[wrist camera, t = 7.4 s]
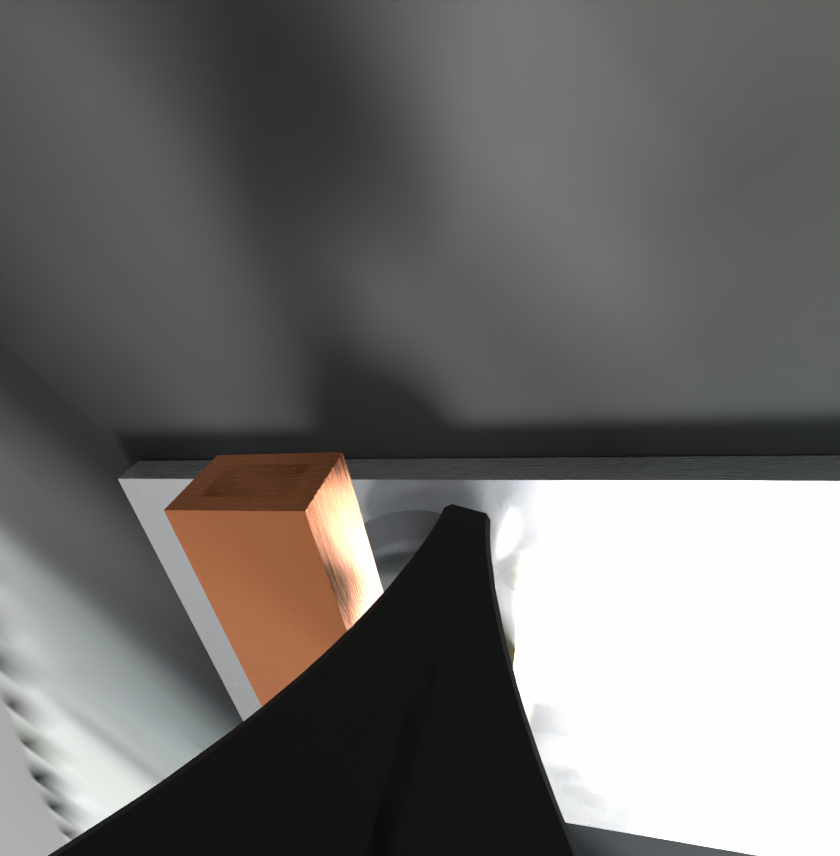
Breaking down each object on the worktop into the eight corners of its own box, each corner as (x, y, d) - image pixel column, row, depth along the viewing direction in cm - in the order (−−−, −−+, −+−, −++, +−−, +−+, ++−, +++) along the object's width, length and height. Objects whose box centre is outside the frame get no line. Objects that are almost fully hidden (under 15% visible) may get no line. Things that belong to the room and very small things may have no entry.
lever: (475, 888, 15) (466, 956, 14) (383, 869, 16) (368, 932, 14) (355, 451, 8) (319, 512, 7) (206, 455, 9) (151, 509, 8)
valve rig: (836, 837, 20) (921, 1082, 15) (279, 749, 26) (210, 901, 21) (984, 454, 12) (1262, 705, 7) (138, 460, 18) (-20, 596, 13)
